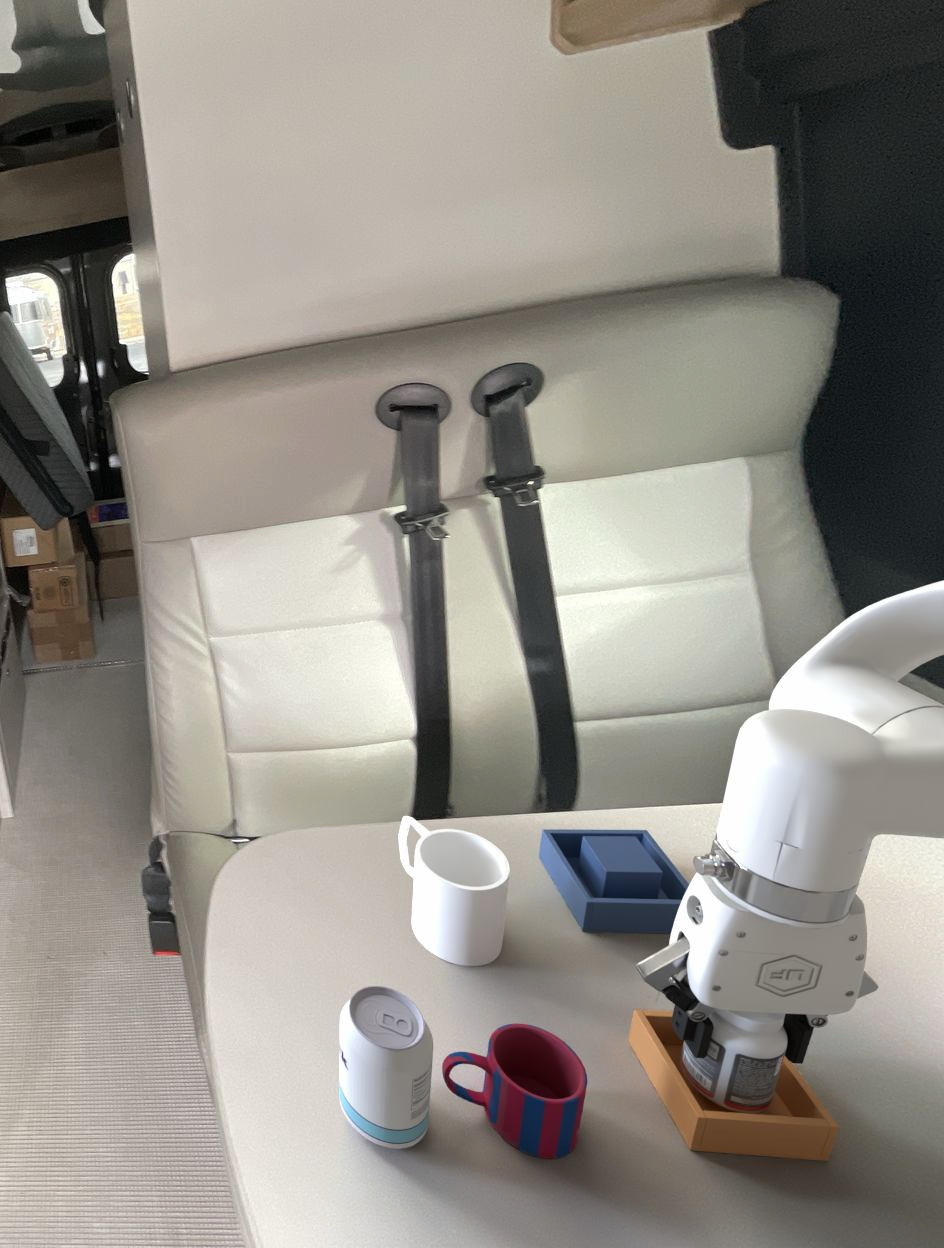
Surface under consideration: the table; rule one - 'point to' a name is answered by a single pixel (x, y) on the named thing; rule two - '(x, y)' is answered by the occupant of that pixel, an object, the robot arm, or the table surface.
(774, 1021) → the pill bottle
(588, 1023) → the table surface
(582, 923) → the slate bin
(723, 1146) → the tan bin
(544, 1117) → the cup
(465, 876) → the cup
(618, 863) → the block
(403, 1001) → the beverage can
